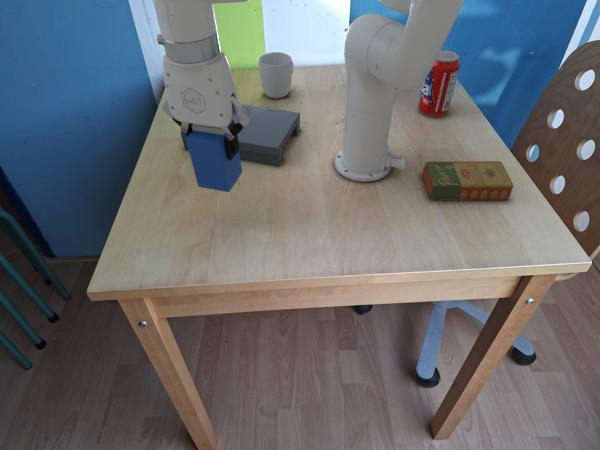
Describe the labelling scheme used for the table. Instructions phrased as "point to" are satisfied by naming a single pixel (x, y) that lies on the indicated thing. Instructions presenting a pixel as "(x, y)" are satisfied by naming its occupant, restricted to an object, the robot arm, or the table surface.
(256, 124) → the riser board
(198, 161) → the blue milk carton
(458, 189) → the carton
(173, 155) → the table surface
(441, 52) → the soda can
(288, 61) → the mug
